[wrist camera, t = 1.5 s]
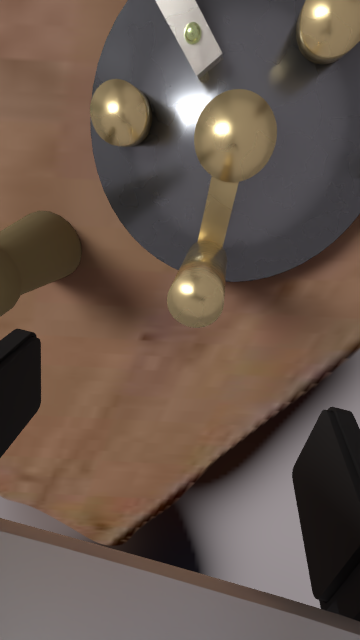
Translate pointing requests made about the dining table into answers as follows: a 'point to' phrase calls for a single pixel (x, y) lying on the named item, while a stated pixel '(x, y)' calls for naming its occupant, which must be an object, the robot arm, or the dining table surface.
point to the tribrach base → (198, 90)
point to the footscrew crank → (220, 197)
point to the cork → (35, 255)
